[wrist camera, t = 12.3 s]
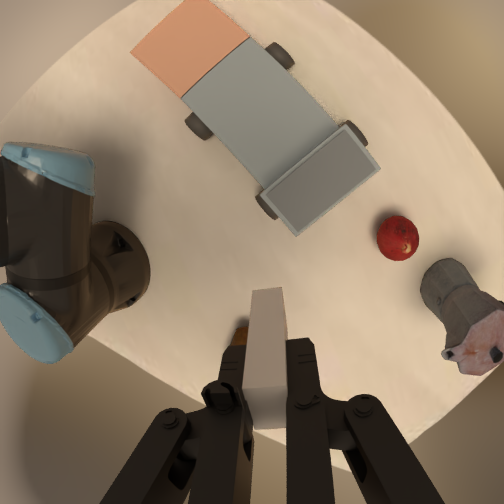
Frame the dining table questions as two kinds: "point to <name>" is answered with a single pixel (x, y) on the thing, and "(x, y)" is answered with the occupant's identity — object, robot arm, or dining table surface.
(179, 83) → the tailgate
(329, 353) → the dining table surface
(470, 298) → the moka pot
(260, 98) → the pickup bed
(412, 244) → the red rounded piece
